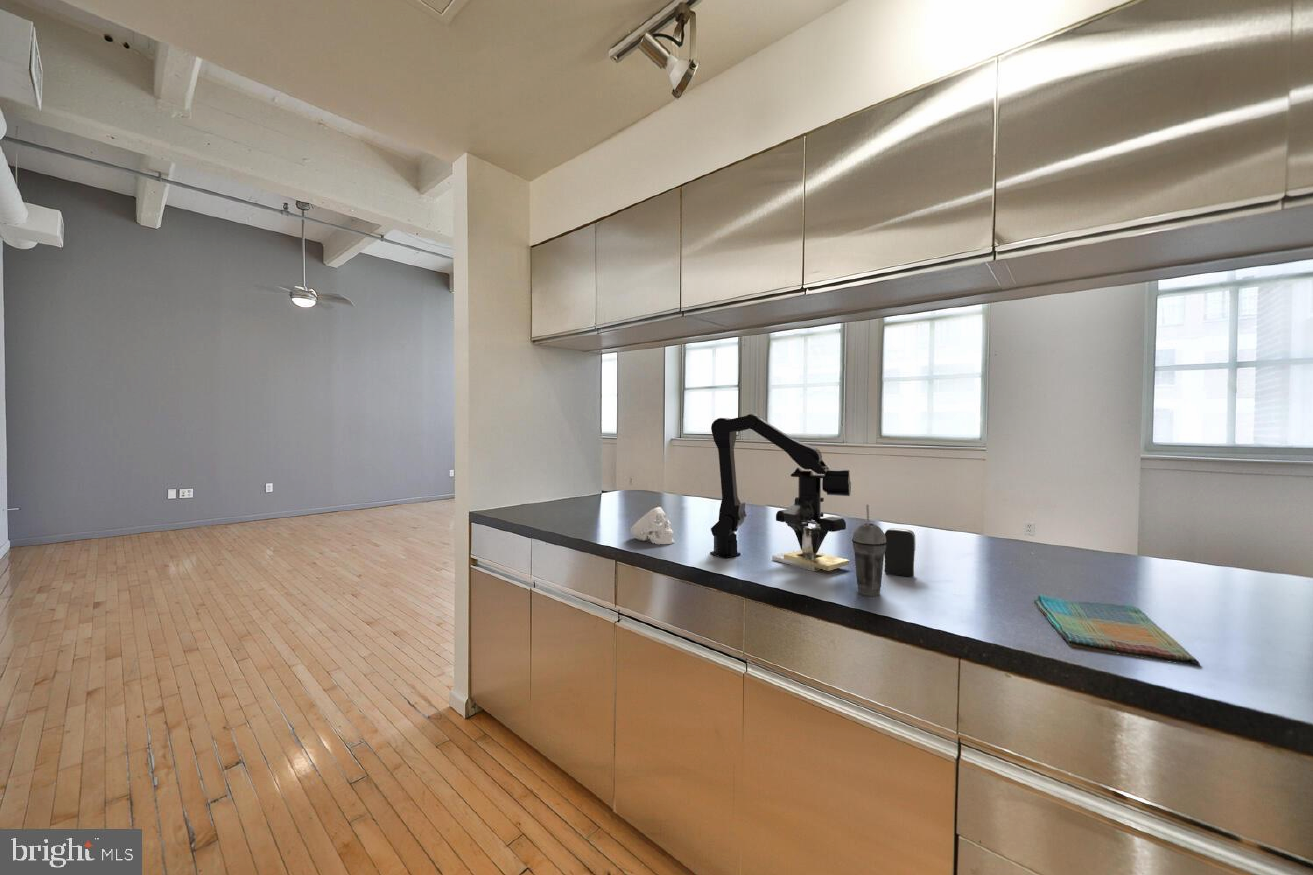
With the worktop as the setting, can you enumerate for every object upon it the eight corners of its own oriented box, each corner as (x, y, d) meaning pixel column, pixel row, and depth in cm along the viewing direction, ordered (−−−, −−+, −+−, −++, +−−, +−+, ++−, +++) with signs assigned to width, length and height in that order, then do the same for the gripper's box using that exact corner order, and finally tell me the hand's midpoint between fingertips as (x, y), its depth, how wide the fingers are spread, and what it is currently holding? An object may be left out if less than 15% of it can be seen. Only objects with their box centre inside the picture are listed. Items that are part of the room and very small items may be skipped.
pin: (799, 560, 135) (799, 527, 135) (807, 558, 137) (807, 525, 137) (810, 563, 132) (810, 529, 132) (818, 561, 134) (819, 528, 134)
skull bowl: (668, 543, 153) (650, 508, 157) (638, 562, 160) (621, 527, 164) (686, 536, 162) (668, 503, 165) (656, 554, 169) (640, 522, 172)
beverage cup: (891, 592, 113) (892, 503, 112) (879, 600, 107) (880, 507, 107) (858, 585, 118) (859, 500, 117) (846, 593, 112) (846, 504, 112)
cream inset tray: (772, 559, 139) (772, 551, 139) (793, 554, 145) (793, 546, 145) (828, 575, 125) (828, 566, 125) (849, 569, 130) (849, 560, 130)
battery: (916, 574, 126) (916, 529, 125) (914, 578, 122) (914, 531, 122) (886, 569, 130) (886, 526, 129) (883, 573, 126) (883, 528, 126)
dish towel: (1139, 617, 99) (1139, 605, 99) (1204, 670, 78) (1204, 654, 78) (1032, 604, 106) (1032, 592, 106) (1065, 649, 85) (1065, 634, 85)
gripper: (762, 492, 137) (762, 549, 138) (820, 501, 122) (820, 564, 122) (788, 489, 144) (788, 543, 144) (847, 497, 129) (846, 557, 129)
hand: (809, 551), depth 135 cm, fingers closed on pin, 4 cm apart
